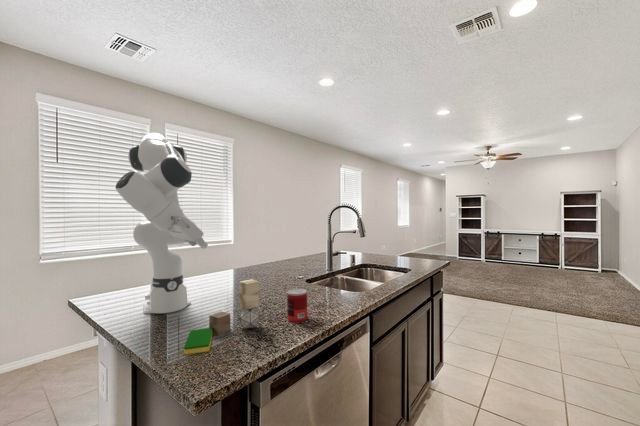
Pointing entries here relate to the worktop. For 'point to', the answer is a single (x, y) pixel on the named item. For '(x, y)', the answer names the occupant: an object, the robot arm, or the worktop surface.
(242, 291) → the maple block
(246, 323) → the game die
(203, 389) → the worktop surface
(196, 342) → the dish sponge
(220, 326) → the walnut block
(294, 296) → the canned food
